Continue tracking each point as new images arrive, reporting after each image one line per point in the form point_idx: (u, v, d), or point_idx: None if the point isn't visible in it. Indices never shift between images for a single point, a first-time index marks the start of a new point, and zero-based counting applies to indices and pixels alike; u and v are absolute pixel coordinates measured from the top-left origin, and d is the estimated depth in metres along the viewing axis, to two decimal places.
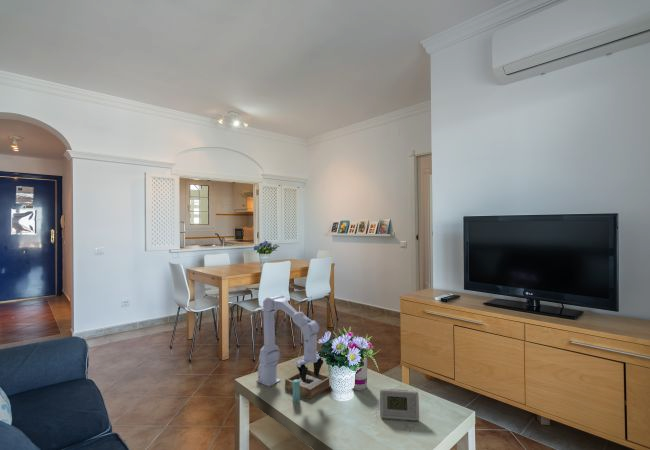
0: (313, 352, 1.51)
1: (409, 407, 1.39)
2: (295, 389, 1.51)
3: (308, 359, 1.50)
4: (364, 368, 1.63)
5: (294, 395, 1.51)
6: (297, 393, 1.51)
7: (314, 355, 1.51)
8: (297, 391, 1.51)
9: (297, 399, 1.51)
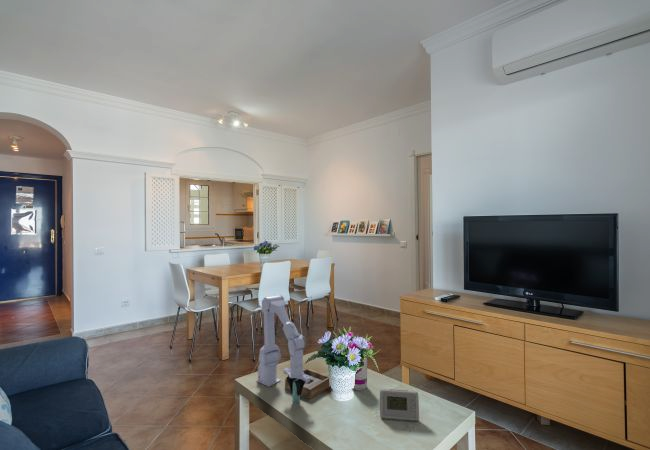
0: (291, 367, 1.51)
1: (409, 407, 1.39)
2: (295, 389, 1.51)
3: (290, 371, 1.53)
4: (364, 368, 1.63)
5: (294, 395, 1.51)
6: None
7: (292, 370, 1.50)
8: None
9: (297, 399, 1.51)
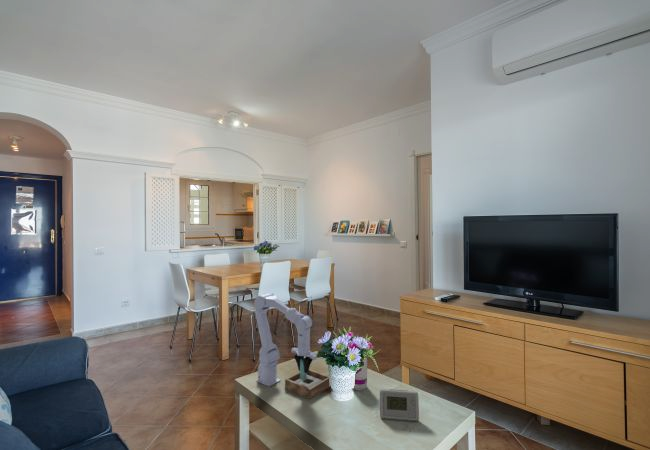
0: (299, 345, 1.58)
1: (409, 407, 1.39)
2: (302, 367, 1.58)
3: (297, 350, 1.60)
4: (364, 368, 1.63)
5: (301, 373, 1.58)
6: None
7: (299, 349, 1.58)
8: None
9: (304, 376, 1.59)
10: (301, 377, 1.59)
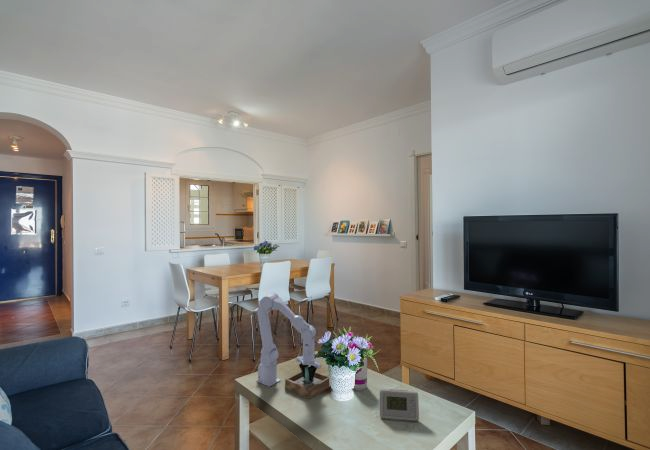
0: (304, 354, 1.63)
1: (409, 407, 1.39)
2: (307, 375, 1.64)
3: (302, 359, 1.65)
4: (364, 368, 1.63)
5: (306, 381, 1.64)
6: None
7: (304, 358, 1.63)
8: None
9: None
10: None
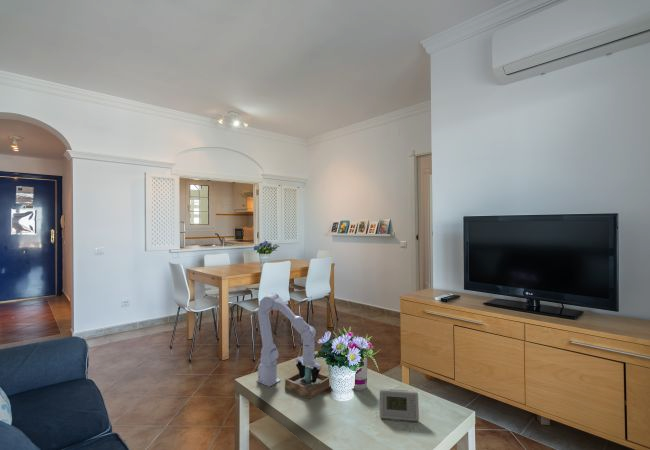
0: (304, 355, 1.63)
1: (408, 407, 1.39)
2: (307, 375, 1.64)
3: (302, 360, 1.65)
4: (364, 368, 1.63)
5: (306, 381, 1.64)
6: (309, 379, 1.64)
7: (304, 359, 1.63)
8: (309, 377, 1.64)
9: None
10: None
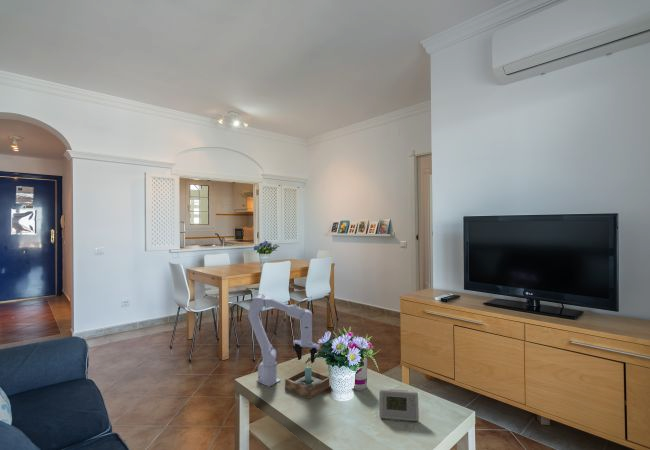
0: (302, 337, 1.69)
1: (408, 407, 1.39)
2: (307, 375, 1.64)
3: (300, 342, 1.71)
4: (364, 368, 1.63)
5: (306, 381, 1.64)
6: (309, 379, 1.64)
7: (303, 340, 1.69)
8: (309, 377, 1.64)
9: None
10: None
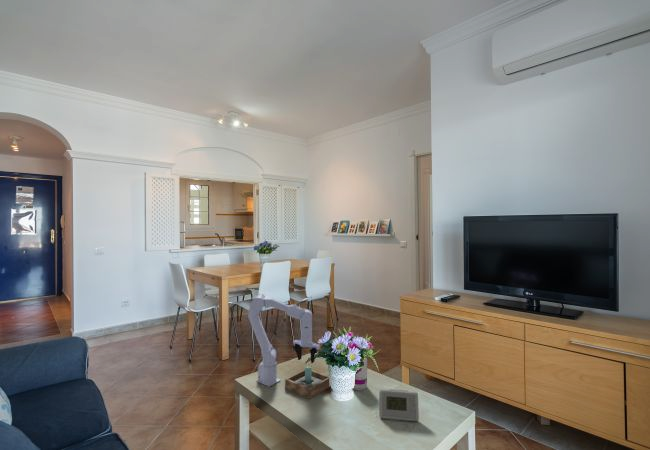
0: (302, 337, 1.69)
1: (408, 408, 1.39)
2: (307, 375, 1.64)
3: (300, 342, 1.71)
4: (364, 368, 1.63)
5: (306, 381, 1.64)
6: (309, 379, 1.64)
7: (303, 340, 1.69)
8: (309, 377, 1.64)
9: None
10: None
